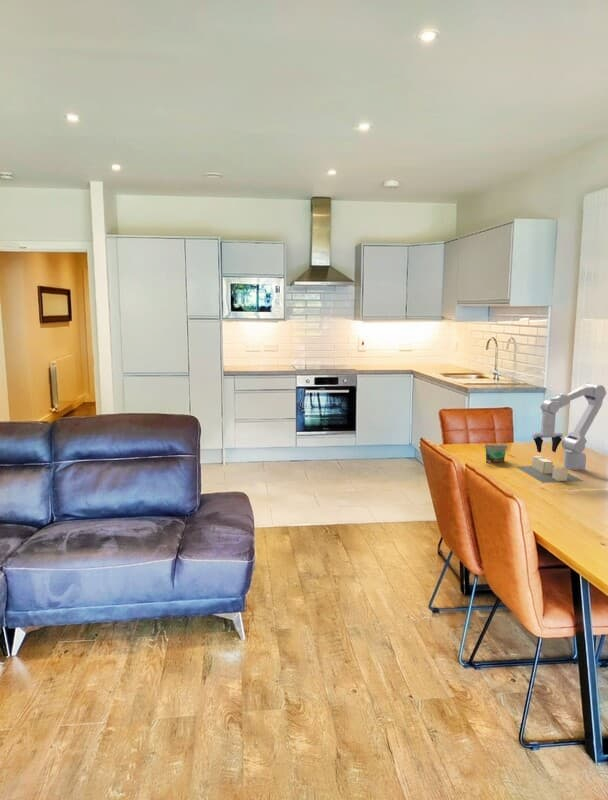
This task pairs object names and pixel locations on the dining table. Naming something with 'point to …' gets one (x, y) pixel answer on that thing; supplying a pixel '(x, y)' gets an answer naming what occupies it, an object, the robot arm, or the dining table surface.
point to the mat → (545, 475)
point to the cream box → (542, 464)
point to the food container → (495, 453)
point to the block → (559, 473)
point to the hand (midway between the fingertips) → (546, 451)
